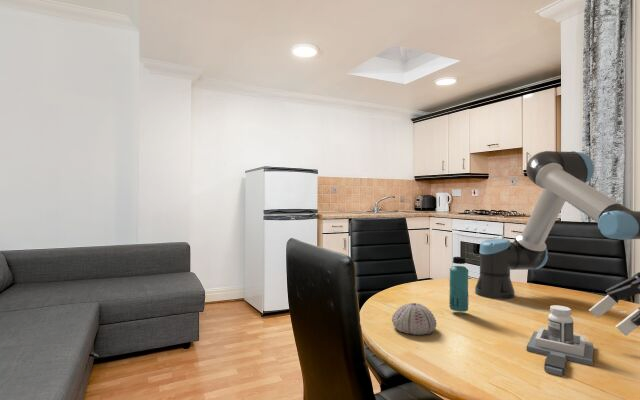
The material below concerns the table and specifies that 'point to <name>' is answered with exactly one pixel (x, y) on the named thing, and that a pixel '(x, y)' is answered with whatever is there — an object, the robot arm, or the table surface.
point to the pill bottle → (560, 325)
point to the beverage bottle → (459, 286)
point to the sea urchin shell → (414, 319)
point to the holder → (560, 351)
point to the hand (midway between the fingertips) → (605, 322)
